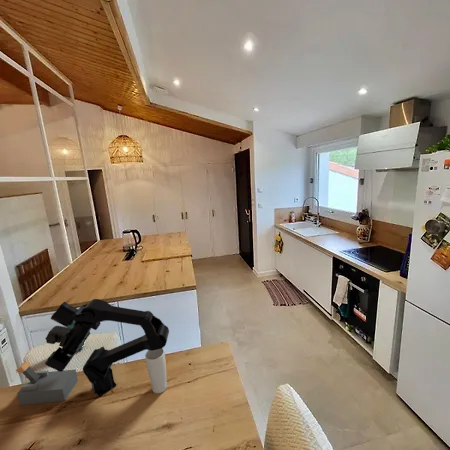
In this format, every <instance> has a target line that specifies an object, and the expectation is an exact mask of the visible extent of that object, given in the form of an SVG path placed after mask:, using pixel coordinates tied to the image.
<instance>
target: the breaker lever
mask: <svg viewBox="0 0 450 450" xmlns="http://www.w3.org/2000/svg"><path fill="white" fill-rule="evenodd" d="M31 365H32V364H31V362H30V361H29V360H26V361H24V362H22V363H21V364H20V365H19V366H18V367H17V369H15V371H16V373H18V375H20V374H23V375H24V377H26V379H28V380H30V381H31V384H35V383H36V381H37V380H38V379H39V378H40V375H37V374H36V373H35V372H36V371H34V369H33V368H32V367H31Z"/></svg>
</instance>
